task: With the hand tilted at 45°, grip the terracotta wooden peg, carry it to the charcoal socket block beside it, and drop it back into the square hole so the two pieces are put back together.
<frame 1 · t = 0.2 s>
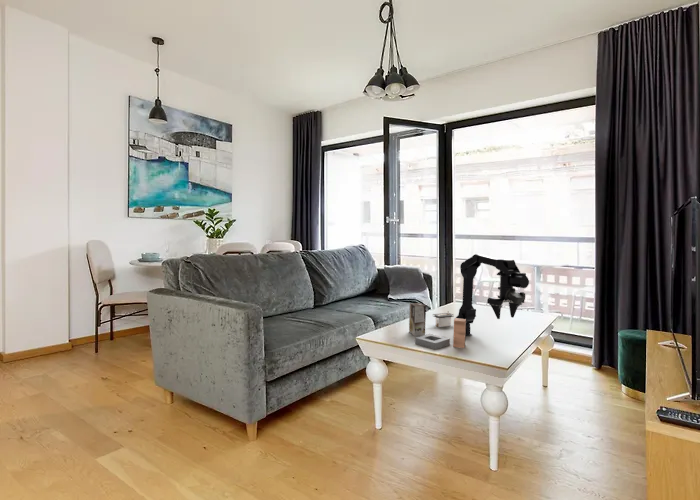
hand: (505, 318, 189), 15 cm above the table, tool pointing down, fingers open, 9 cm apart
peg: (459, 346, 194), on the table
coffee box: (416, 334, 215), on the table
architectural model: (443, 326, 234), on the table
socket block: (432, 344, 196), on the table
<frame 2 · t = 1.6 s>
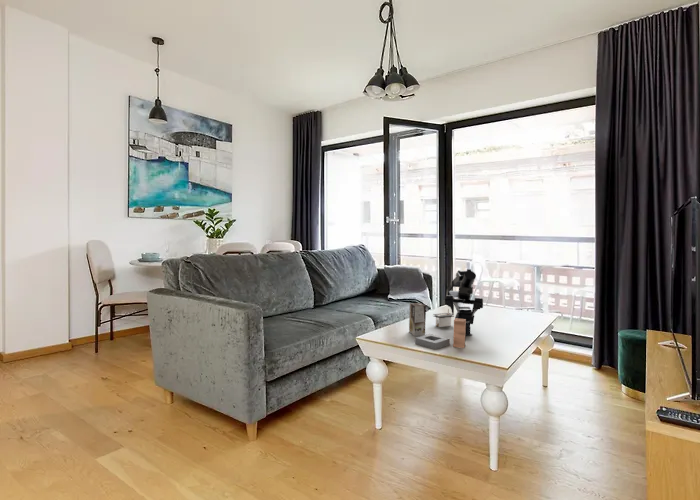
hand: (462, 315, 201), 13 cm above the table, tool tilted 45°, fingers open, 9 cm apart
nothing on the table moved.
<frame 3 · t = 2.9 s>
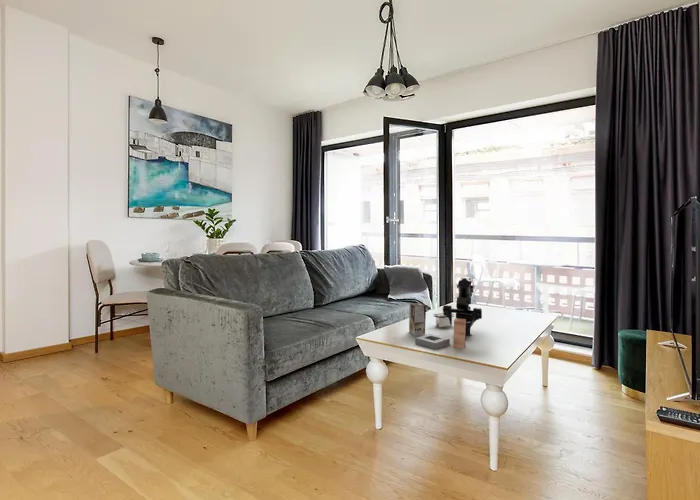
hand: (460, 326, 195), 9 cm above the table, tool tilted 45°, fingers open, 9 cm apart
nothing on the table moved.
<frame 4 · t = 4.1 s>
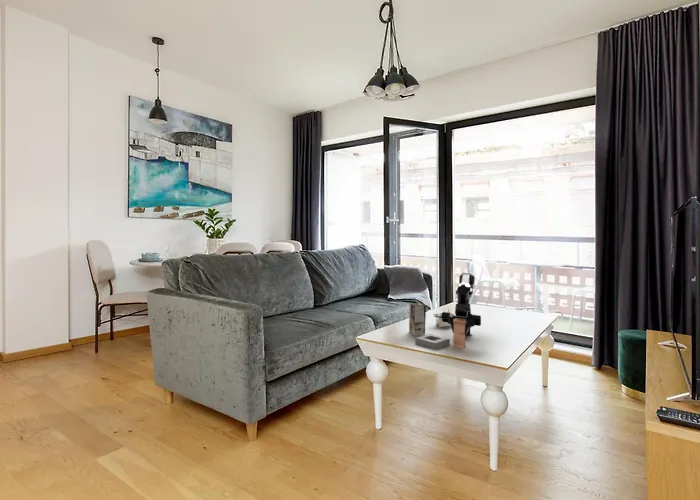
hand: (459, 333, 192), 7 cm above the table, tool tilted 45°, fingers closed on peg, 5 cm apart
peg: (459, 346, 194), on the table, touching gripper
everything else where it was.
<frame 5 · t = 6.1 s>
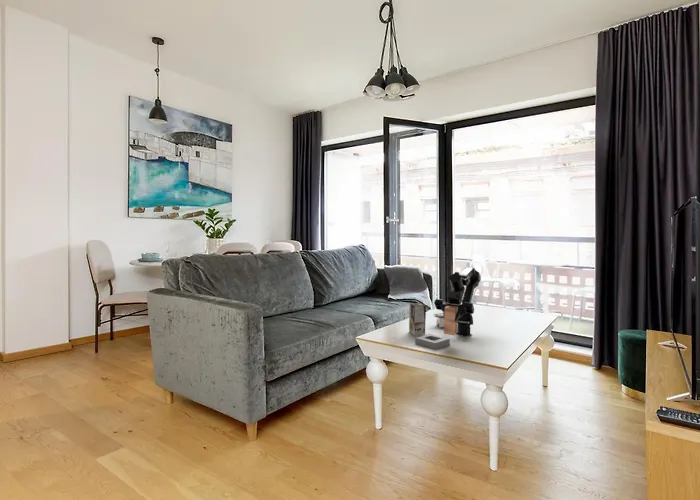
hand: (449, 320, 192), 13 cm above the table, tool tilted 45°, fingers closed on peg, 5 cm apart
peg: (450, 333, 194), point 6 cm above the table, touching gripper
everything else where it was.
when the fingers open (8 cm above the table, at t = 8.1 s): peg drops 1 cm, resting in socket block.
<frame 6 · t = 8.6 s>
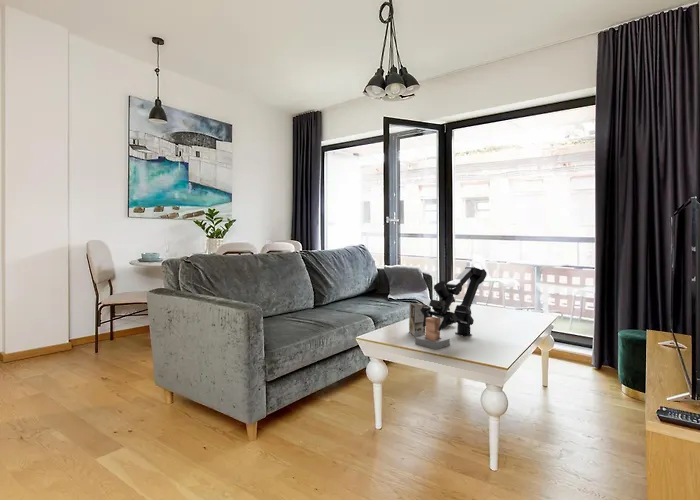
hand: (431, 328, 195), 8 cm above the table, tool tilted 45°, fingers open, 9 cm apart
peg: (432, 344, 196), resting in socket block
everything else where it was.
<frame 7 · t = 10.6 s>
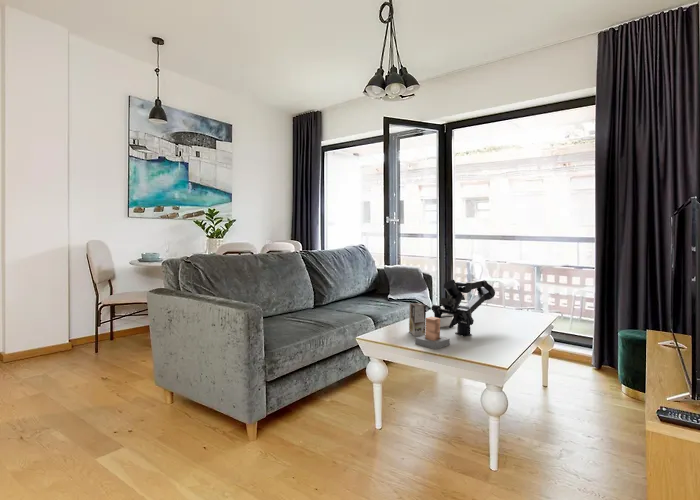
hand: (441, 325, 201), 8 cm above the table, tool tilted 45°, fingers open, 9 cm apart
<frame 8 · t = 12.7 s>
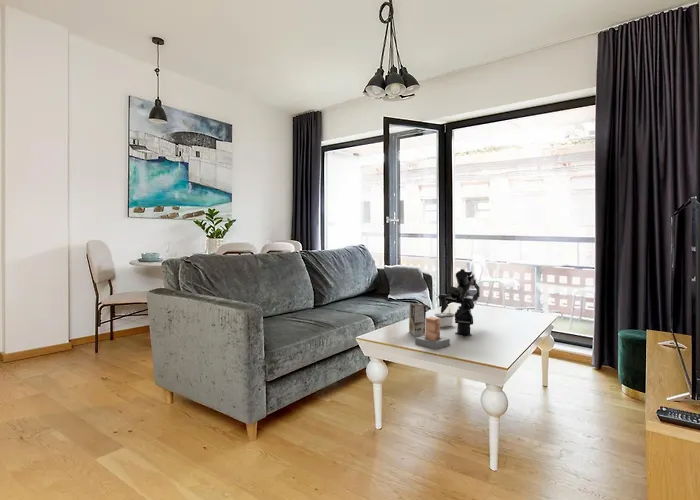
hand: (449, 314, 202), 14 cm above the table, tool tilted 45°, fingers open, 9 cm apart
at the end: peg 0.0 cm off-centre on the socket block, point 0.0 cm above the socket block's base; peg tilted 0°; the gripper is holding nothing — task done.
